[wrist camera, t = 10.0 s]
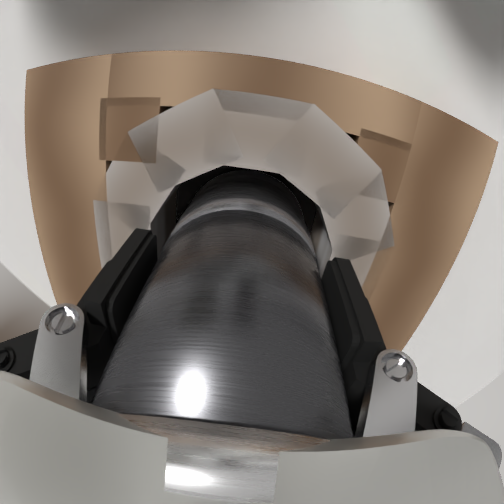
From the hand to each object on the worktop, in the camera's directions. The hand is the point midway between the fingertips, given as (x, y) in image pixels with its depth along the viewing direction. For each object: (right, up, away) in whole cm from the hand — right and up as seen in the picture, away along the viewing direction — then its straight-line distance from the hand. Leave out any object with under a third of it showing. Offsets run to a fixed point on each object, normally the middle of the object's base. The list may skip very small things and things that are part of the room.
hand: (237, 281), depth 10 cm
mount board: (0, +3, +5) cm, 5 cm away
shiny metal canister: (0, +2, +4) cm, 4 cm away
